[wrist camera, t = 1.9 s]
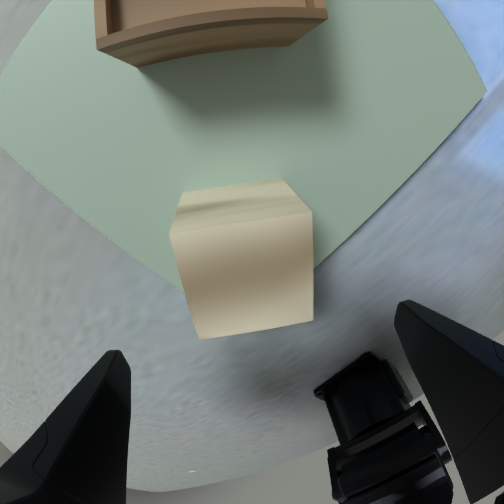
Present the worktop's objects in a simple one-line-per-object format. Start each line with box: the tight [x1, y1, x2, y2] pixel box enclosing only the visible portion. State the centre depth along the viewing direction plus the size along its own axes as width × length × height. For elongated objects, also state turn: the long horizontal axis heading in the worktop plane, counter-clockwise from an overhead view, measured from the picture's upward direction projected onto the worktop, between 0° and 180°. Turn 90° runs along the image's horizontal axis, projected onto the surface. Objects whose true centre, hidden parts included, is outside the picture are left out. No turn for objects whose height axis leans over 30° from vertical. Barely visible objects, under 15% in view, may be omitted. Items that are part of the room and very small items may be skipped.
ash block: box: [169, 178, 313, 340], centre depth 13 cm, size 5×5×5 cm
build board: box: [0, 0, 487, 294], centre depth 12 cm, size 24×22×1 cm
